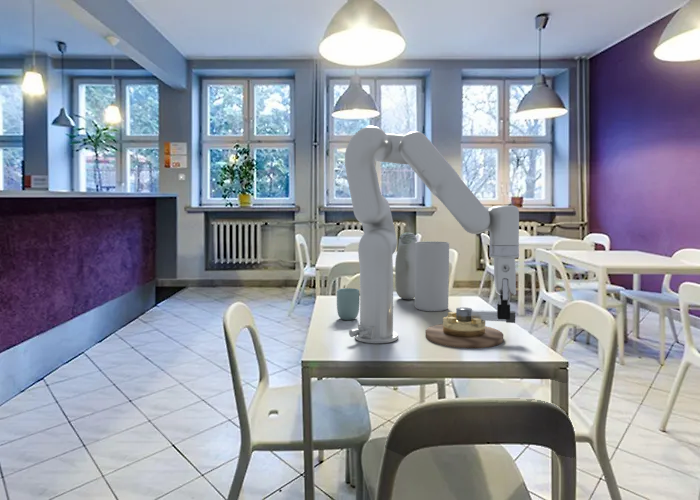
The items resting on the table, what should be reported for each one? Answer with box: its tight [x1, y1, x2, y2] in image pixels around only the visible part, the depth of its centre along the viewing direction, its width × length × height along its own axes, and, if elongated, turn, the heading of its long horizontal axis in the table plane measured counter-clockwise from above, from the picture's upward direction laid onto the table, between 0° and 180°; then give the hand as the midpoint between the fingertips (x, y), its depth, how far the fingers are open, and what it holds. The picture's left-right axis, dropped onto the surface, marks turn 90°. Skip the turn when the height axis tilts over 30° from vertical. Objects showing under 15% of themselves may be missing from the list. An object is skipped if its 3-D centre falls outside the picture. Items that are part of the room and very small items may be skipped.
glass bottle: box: [394, 231, 418, 300], centre depth 196 cm, size 10×10×28 cm
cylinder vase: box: [414, 241, 450, 312], centre depth 177 cm, size 12×12×25 cm
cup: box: [336, 287, 360, 321], centre depth 161 cm, size 8×8×10 cm
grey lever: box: [442, 306, 516, 337], centre depth 136 cm, size 20×12×7 cm, turn 76°
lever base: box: [425, 323, 504, 349], centre depth 137 cm, size 22×22×2 cm
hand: (503, 318), depth 128 cm, fingers closed
